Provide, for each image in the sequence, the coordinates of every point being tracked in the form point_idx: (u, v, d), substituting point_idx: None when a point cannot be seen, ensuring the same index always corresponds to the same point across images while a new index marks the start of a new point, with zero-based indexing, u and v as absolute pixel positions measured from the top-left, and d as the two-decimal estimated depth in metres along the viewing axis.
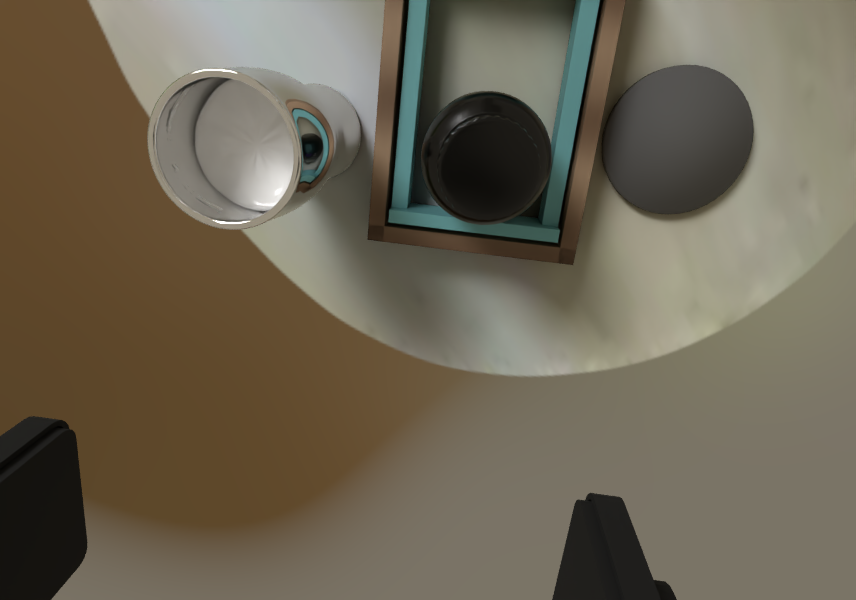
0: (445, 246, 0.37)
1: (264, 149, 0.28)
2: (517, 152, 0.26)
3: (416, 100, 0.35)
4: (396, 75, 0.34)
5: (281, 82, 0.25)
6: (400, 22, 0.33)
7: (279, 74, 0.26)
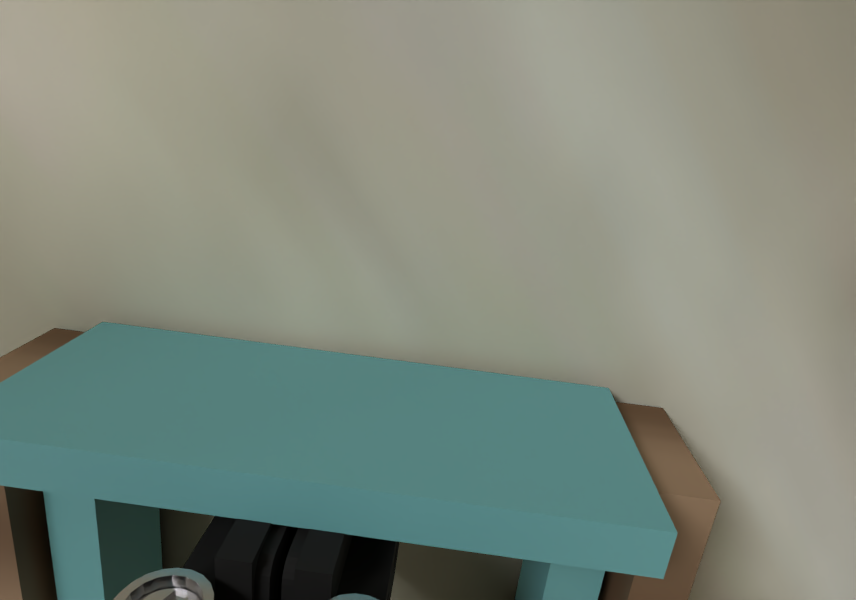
0: None
1: None
2: None
3: None
4: None
5: None
6: None
7: None
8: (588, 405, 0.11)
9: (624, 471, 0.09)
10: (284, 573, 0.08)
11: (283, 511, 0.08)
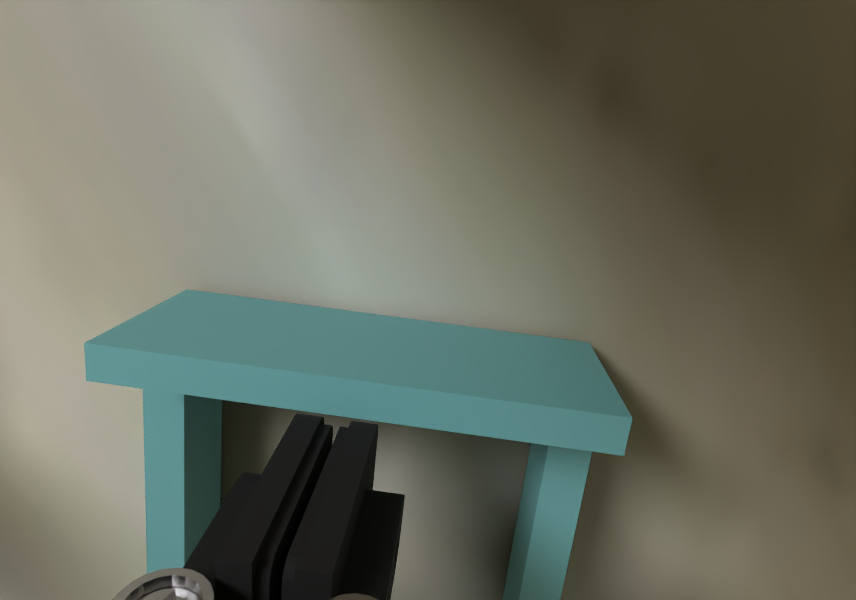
0: None
1: None
2: None
3: None
4: None
5: None
6: None
7: None
8: (572, 351, 0.14)
9: (597, 387, 0.12)
10: (284, 573, 0.08)
11: (345, 405, 0.11)
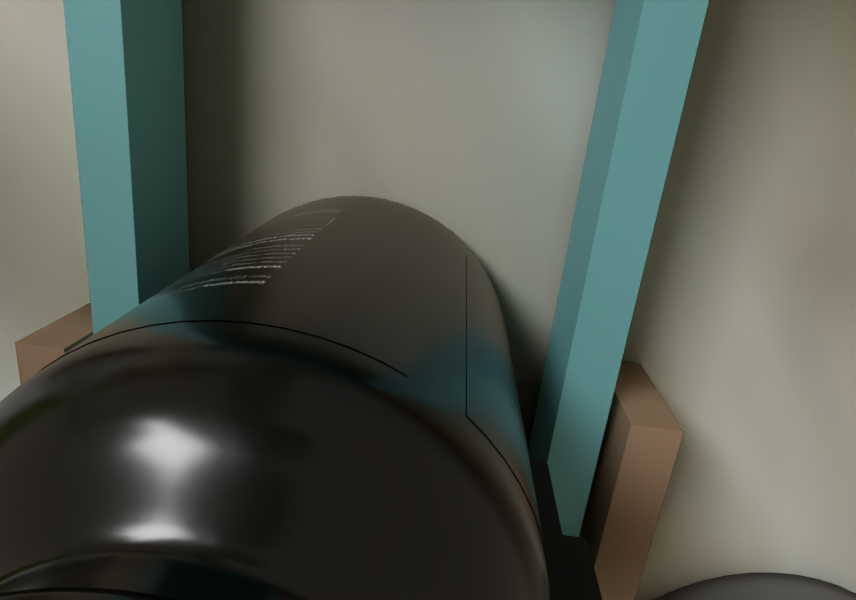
0: None
1: None
2: None
3: (129, 197, 0.11)
4: None
5: None
6: None
7: None
8: None
9: None
10: None
11: None
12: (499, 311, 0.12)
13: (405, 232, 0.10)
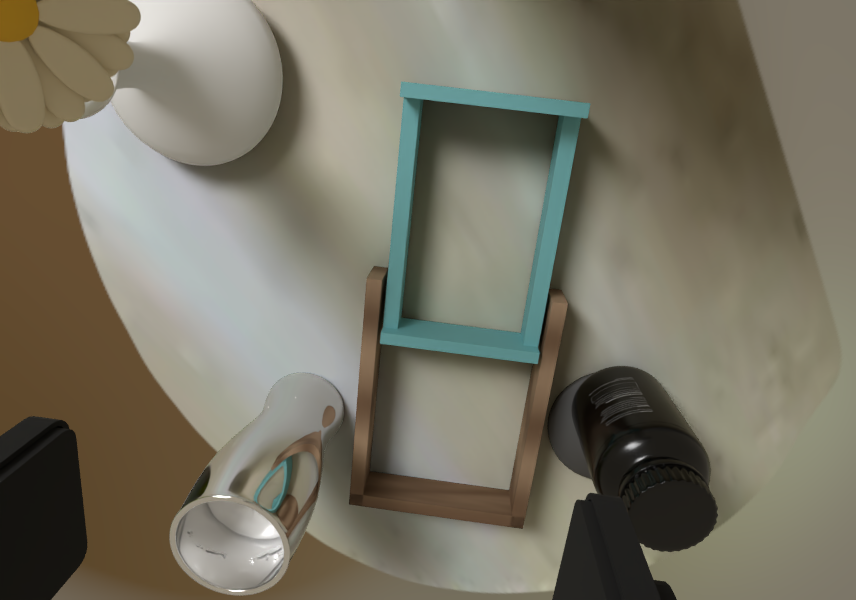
0: (415, 511, 0.44)
1: None
2: (698, 505, 0.31)
3: (406, 235, 0.37)
4: (372, 388, 0.41)
5: (275, 479, 0.32)
6: (375, 351, 0.40)
7: (273, 457, 0.33)
8: None
9: None
10: None
11: (492, 102, 0.32)
12: None
13: (653, 386, 0.38)
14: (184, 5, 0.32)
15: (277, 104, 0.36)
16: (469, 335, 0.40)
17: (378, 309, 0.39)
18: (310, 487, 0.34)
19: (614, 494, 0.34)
